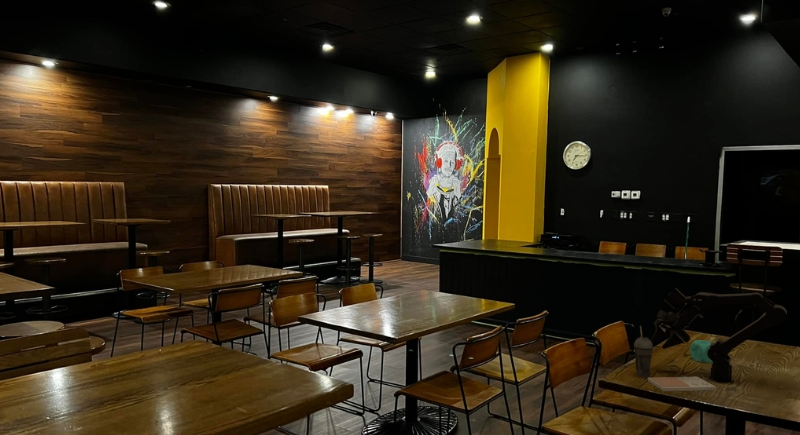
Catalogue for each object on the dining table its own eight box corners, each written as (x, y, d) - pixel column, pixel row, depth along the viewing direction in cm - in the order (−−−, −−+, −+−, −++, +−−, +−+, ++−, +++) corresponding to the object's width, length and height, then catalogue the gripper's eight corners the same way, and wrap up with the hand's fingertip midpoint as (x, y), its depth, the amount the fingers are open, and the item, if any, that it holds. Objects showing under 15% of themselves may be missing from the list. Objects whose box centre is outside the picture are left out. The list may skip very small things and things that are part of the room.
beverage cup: (654, 379, 227) (655, 328, 226) (634, 378, 228) (635, 327, 228) (650, 373, 234) (651, 324, 233) (631, 372, 235) (632, 323, 235)
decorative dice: (689, 358, 256) (689, 340, 256) (704, 357, 258) (704, 339, 258) (703, 363, 248) (703, 345, 248) (718, 362, 250) (718, 343, 250)
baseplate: (697, 379, 226) (697, 374, 226) (716, 390, 214) (716, 384, 214) (647, 380, 225) (647, 375, 225) (663, 391, 213) (663, 385, 213)
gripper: (659, 299, 240) (632, 325, 240) (683, 307, 221) (654, 336, 221) (677, 318, 241) (650, 344, 241) (702, 328, 222) (674, 357, 222)
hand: (656, 345), depth 231 cm, fingers open, 9 cm apart
